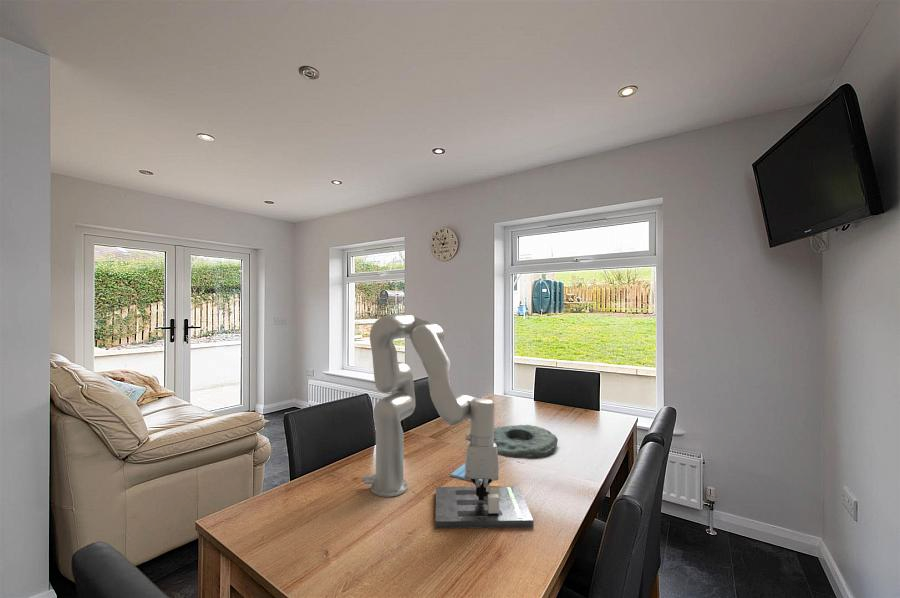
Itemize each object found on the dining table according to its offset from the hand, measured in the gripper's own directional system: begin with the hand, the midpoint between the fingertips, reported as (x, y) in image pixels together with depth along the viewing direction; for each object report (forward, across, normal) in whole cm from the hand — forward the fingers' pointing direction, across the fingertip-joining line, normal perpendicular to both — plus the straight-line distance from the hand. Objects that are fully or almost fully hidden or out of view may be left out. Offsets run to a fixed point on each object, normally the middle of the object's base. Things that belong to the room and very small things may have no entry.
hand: (480, 498), depth 122 cm
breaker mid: (+1, +4, 0) cm, 4 cm away
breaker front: (+1, +3, -6) cm, 7 cm away
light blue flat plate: (+4, 0, +26) cm, 27 cm away
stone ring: (+4, +24, +57) cm, 62 cm away
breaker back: (+1, +3, +7) cm, 7 cm away
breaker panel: (+3, 0, 0) cm, 3 cm away
